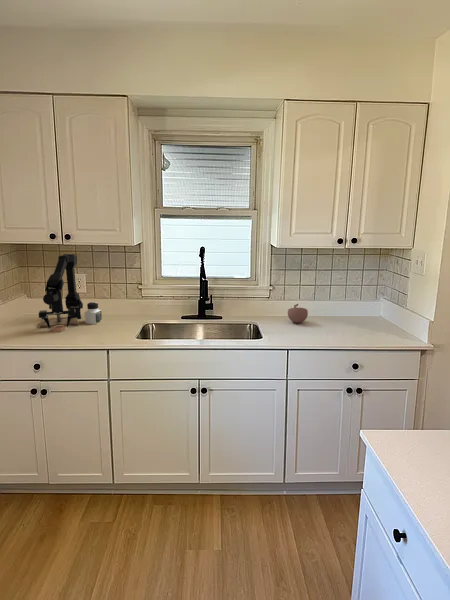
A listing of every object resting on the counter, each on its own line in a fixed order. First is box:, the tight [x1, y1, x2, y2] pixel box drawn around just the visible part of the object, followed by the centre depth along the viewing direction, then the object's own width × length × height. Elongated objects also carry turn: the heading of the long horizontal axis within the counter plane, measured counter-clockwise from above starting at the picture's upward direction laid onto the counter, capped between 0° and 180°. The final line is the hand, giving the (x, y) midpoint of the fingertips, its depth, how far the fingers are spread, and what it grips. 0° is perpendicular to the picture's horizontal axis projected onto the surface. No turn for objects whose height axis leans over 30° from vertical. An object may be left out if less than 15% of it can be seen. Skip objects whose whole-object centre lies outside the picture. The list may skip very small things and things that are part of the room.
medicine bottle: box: [84, 301, 103, 325], centre depth 242 cm, size 7×7×12 cm
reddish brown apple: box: [287, 303, 309, 324], centre depth 247 cm, size 12×12×12 cm
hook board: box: [39, 314, 79, 329], centre depth 238 cm, size 20×12×6 cm, turn 110°
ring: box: [51, 325, 66, 333], centre depth 226 cm, size 6×6×2 cm
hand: (58, 328), depth 226 cm, fingers open, 9 cm apart
